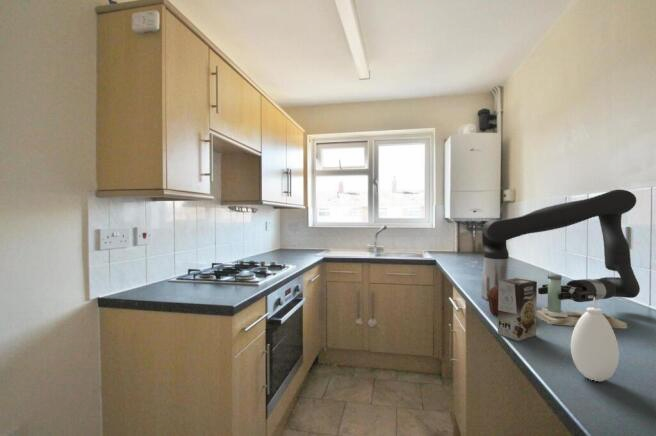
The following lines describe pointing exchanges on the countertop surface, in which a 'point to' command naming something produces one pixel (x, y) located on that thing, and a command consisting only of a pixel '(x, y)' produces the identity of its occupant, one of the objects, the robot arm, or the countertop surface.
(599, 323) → the sauce bottle
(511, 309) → the coffee box
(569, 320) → the beige flat wavy piece
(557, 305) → the green cylindrical container
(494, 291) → the muffin
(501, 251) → the robot arm
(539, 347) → the countertop surface
